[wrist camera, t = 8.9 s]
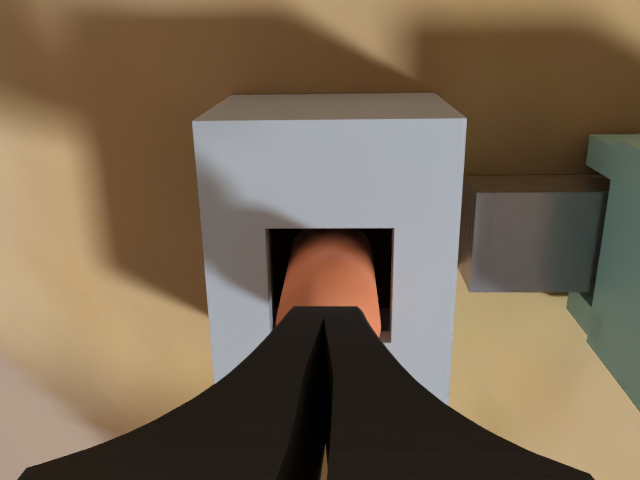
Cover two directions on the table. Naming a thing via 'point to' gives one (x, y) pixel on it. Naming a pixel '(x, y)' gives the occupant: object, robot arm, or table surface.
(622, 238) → the block
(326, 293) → the orange rounded knob
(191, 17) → the table surface
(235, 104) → the end cabinet
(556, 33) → the table surface
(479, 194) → the rail
